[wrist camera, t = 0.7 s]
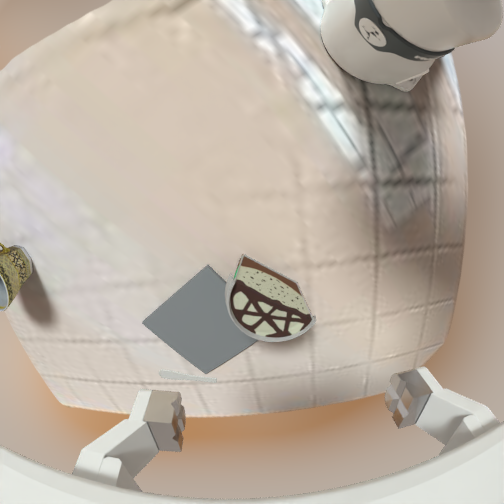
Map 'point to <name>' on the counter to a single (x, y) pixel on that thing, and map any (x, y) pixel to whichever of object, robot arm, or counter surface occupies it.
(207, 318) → the mat
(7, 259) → the ceramic cup
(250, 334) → the food container
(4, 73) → the counter surface
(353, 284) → the counter surface
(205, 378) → the butter knife
